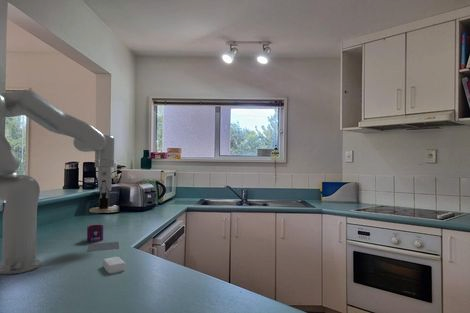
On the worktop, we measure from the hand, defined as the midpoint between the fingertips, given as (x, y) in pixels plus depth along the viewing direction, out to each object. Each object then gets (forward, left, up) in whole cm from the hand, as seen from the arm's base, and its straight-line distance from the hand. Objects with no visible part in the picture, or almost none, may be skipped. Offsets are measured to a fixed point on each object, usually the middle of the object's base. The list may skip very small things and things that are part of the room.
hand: (103, 206), depth 133 cm
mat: (0, 0, -17) cm, 17 cm away
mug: (+14, +4, -17) cm, 23 cm away
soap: (-29, -4, -18) cm, 35 cm away
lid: (0, 0, -2) cm, 2 cm away
